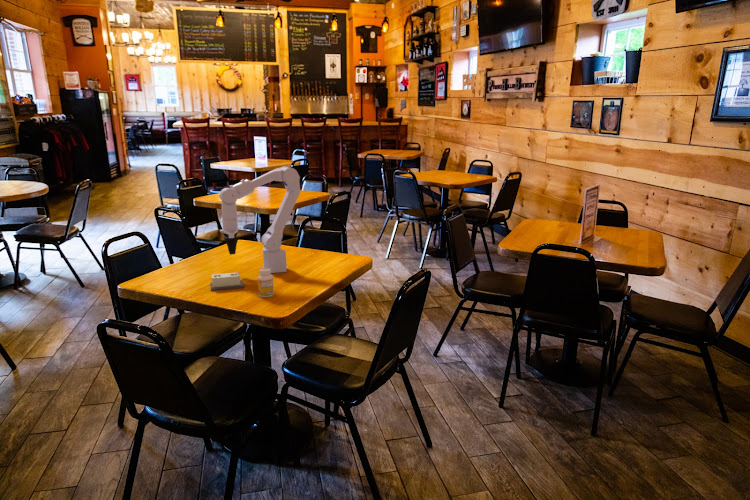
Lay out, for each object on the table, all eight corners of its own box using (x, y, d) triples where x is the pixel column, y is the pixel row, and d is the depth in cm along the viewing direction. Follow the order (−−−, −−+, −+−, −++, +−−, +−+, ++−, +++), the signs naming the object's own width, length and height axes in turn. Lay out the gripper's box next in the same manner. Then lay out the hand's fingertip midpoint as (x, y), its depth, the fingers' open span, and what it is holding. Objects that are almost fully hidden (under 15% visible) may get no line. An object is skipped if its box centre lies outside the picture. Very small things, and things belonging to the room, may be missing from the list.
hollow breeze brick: (239, 281, 195) (238, 272, 194) (240, 284, 190) (239, 276, 189) (212, 283, 192) (211, 274, 191) (212, 287, 187) (211, 278, 186)
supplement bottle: (259, 292, 185) (258, 267, 182) (274, 292, 185) (273, 267, 183) (257, 297, 179) (256, 271, 177) (272, 297, 180) (271, 271, 178)
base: (242, 282, 196) (242, 271, 195) (244, 287, 190) (243, 276, 189) (210, 285, 193) (209, 273, 191) (210, 290, 186) (209, 279, 185)
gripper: (218, 215, 204) (220, 248, 208) (219, 222, 191) (222, 257, 195) (236, 214, 207) (238, 247, 210) (238, 221, 193) (240, 255, 197)
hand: (231, 251), depth 202 cm, fingers open, 7 cm apart
